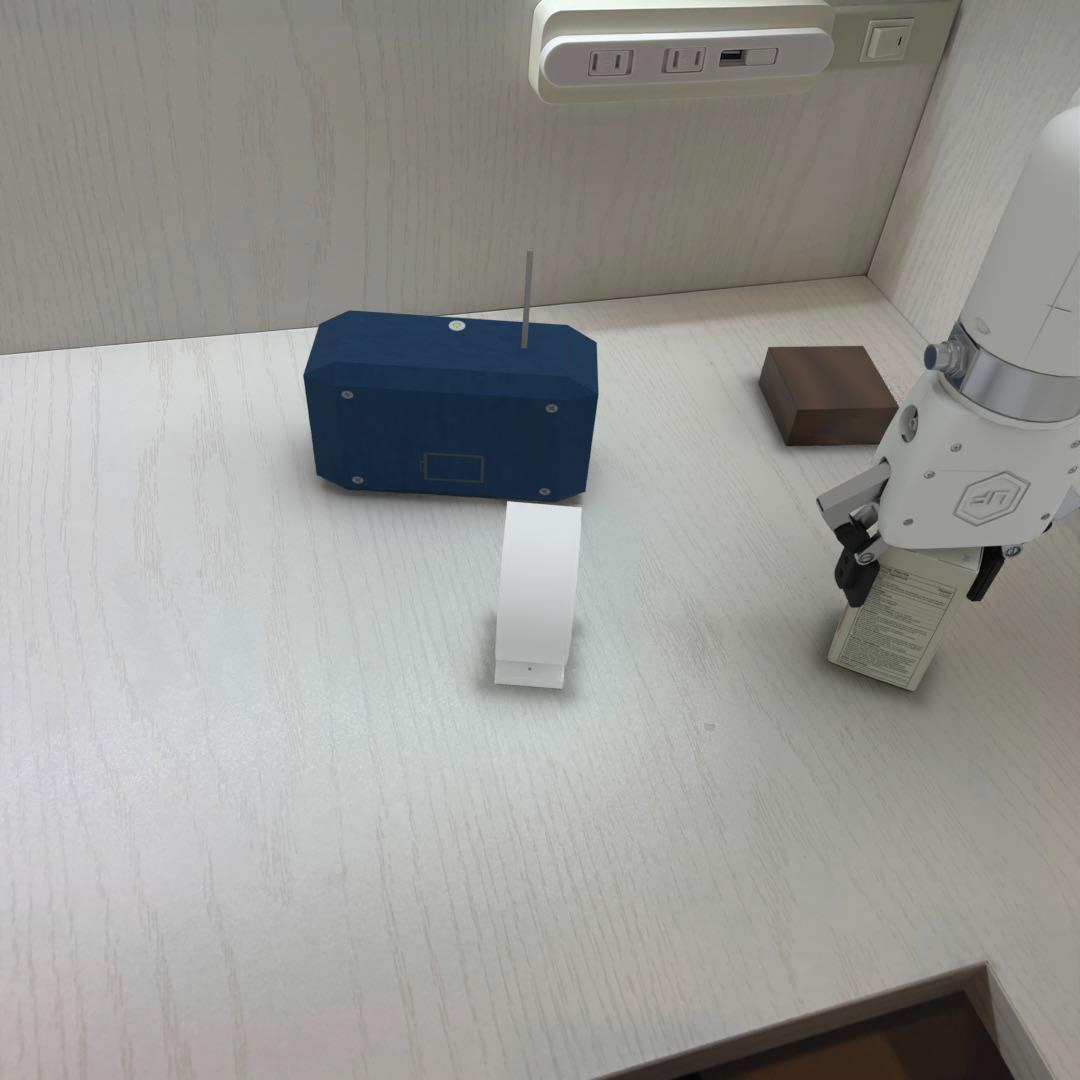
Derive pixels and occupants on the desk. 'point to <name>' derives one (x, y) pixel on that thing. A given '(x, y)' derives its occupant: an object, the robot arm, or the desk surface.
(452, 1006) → the desk surface
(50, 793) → the desk surface
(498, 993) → the desk surface
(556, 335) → the radio
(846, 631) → the cosmetic box
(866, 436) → the walnut block
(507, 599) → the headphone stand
